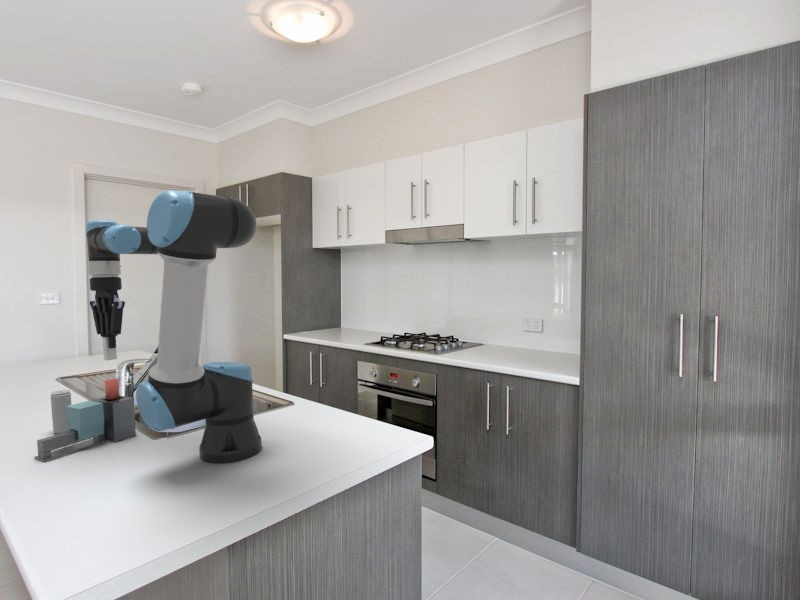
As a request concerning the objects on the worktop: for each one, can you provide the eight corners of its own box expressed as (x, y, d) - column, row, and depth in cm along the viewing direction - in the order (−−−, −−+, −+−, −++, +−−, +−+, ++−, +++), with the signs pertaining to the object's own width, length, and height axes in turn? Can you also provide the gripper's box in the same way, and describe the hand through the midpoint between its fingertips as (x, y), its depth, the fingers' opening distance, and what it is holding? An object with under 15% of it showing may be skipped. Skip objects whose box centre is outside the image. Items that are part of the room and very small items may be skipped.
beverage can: (62, 434, 135) (59, 394, 134) (48, 433, 136) (46, 393, 135) (77, 429, 139) (74, 390, 139) (63, 428, 140) (61, 389, 140)
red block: (122, 396, 132) (121, 378, 132) (110, 399, 129) (109, 381, 129) (115, 395, 134) (114, 377, 134) (103, 398, 131) (102, 380, 131)
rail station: (135, 435, 133) (133, 397, 132) (50, 464, 113) (47, 420, 113) (115, 430, 137) (112, 394, 137) (29, 457, 118) (26, 415, 117)
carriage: (104, 433, 127) (102, 403, 126) (81, 441, 121) (79, 409, 121) (91, 430, 130) (89, 400, 129) (68, 437, 124) (65, 406, 124)
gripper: (132, 275, 130) (137, 358, 131) (105, 276, 136) (110, 355, 137) (105, 276, 123) (110, 363, 125) (78, 277, 129) (83, 360, 131)
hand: (110, 359), depth 131 cm, fingers closed
